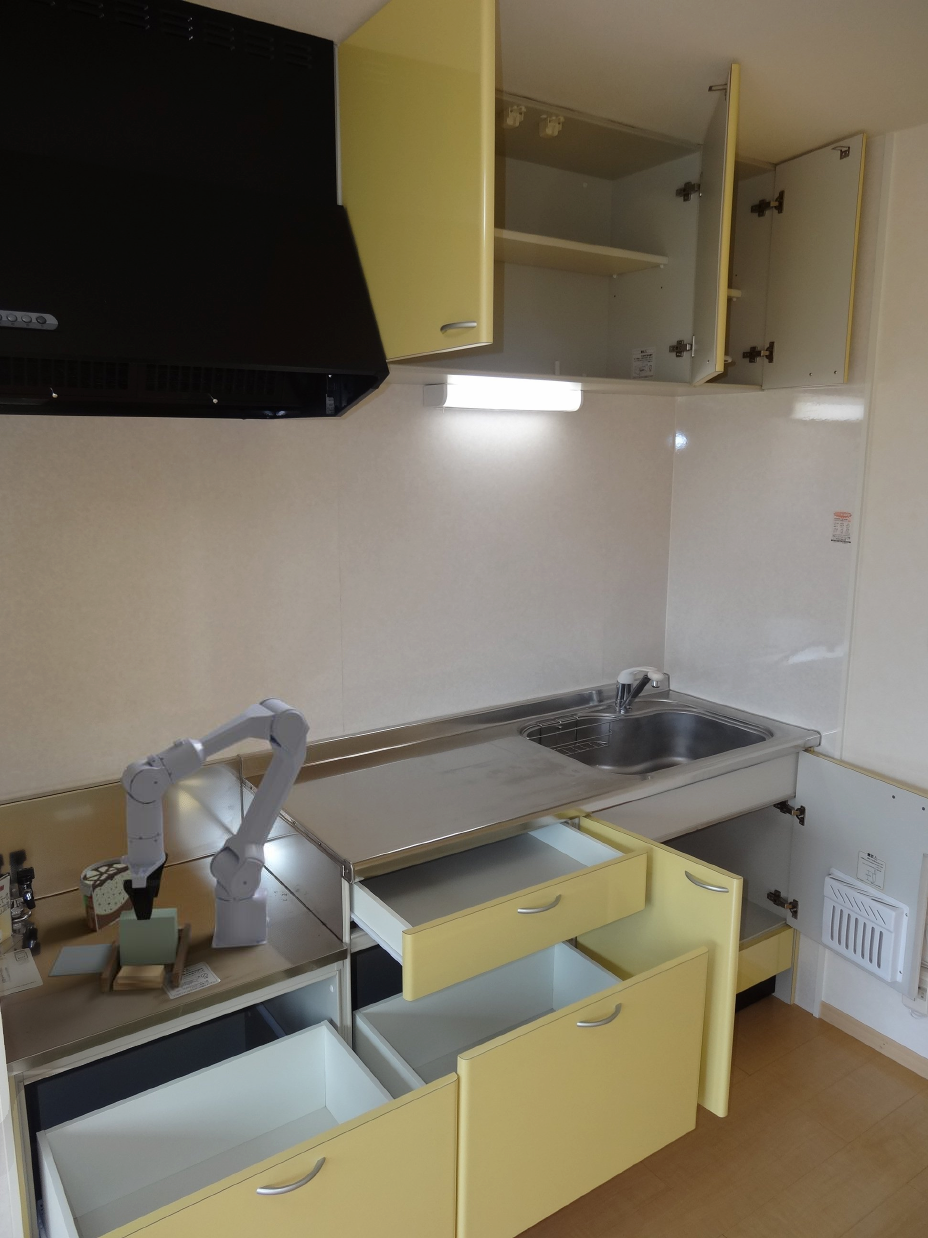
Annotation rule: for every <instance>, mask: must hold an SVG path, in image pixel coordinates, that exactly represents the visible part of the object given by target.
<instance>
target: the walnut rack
mask: <svg viewBox="0 0 928 1238" xmlns="http://www.w3.org/2000/svg"><path fill="white" fill-rule="evenodd" d="M177 927H178V938H180V942H179V944H178V953H177V957H176V961H175V963H173V965H174V966H173V969H172V974H171V975H172V988H173V989H174V988H175V989H178V988H180V986H181V982H182V977H183V973H184V968H185V964H186V959H187V955H188V951H189V948H190V947H189V946H190V943H191V938H192V934H193V933H192V924H191V922H186V923H184V925H177ZM113 944H114V946H113V948H112V951H111V953H110V956H109V959H108V961H107V964H106V966H105V969H104V972H103V973H101V977H100V981H101V982H100V986H101V987H100V988H101V994H108V993H110V992H109V991H110V989H111V985H113V982H114V978H115V975H116V972H117V971H118V966H119V964H120V939H119V932H118V933H117V935H116V937H115V941H114V943H113Z"/></svg>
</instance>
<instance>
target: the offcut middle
mask: <svg viewBox="0 0 928 1238" xmlns="http://www.w3.org/2000/svg"><path fill="white" fill-rule="evenodd" d="M119 973H120V972H118V973H117V974H116V976H115V979H114V980H113V982H112V985H113V986H112V987H113V988H112V989H113V991H122V990H124V991H125V990H141V989H142V990H143V989H144V990H145V989H162V988H163V986H164V983H165V982H166V981H165V980H166V975H167V973H166V970H164V973H163V976H162V978H161V980H160V982H151V983H118V977H117V976H118V974H119Z"/></svg>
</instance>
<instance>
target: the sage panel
mask: <svg viewBox="0 0 928 1238" xmlns="http://www.w3.org/2000/svg"><path fill="white" fill-rule="evenodd" d="M177 926H178V908H177V907H167V908H166V907H165V908H153V910H152V915H151V918H150V920H137V918H136V915H135V912H134V910H131V911H122V913H121V915H120V918H119V920H118V933H119V939H120V962H119V964H120V967H121V968H122V967H123V966H151V965H165V964H166V965H167V964H175V961H176V957H177V953H178V949H179V937H178V927H177Z"/></svg>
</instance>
